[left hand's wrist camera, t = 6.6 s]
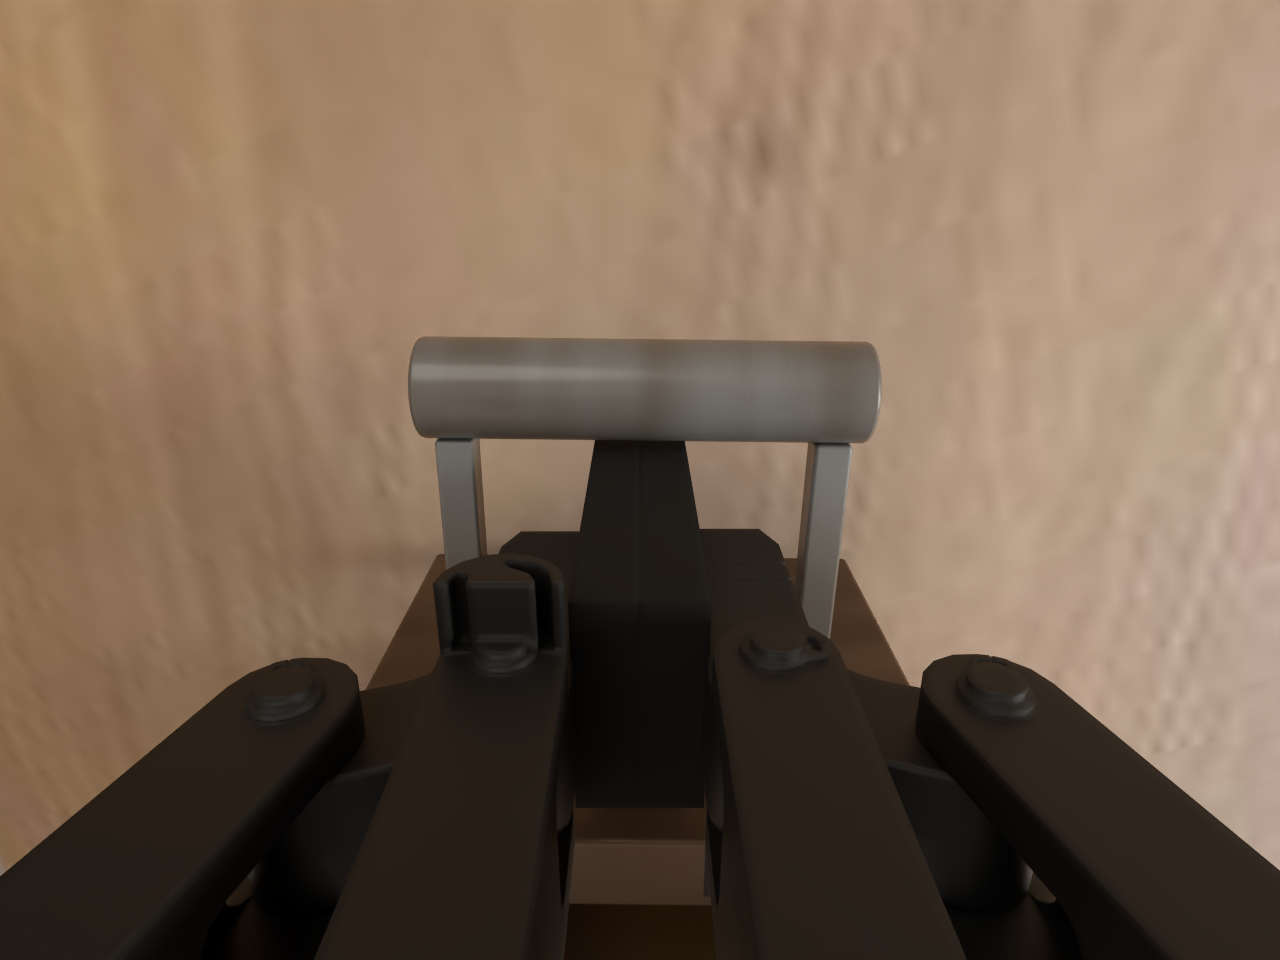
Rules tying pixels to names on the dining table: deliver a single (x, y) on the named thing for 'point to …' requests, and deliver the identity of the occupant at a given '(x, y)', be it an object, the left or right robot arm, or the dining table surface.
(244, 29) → the dining table surface
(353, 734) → the left robot arm
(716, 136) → the dining table surface
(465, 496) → the drawer
